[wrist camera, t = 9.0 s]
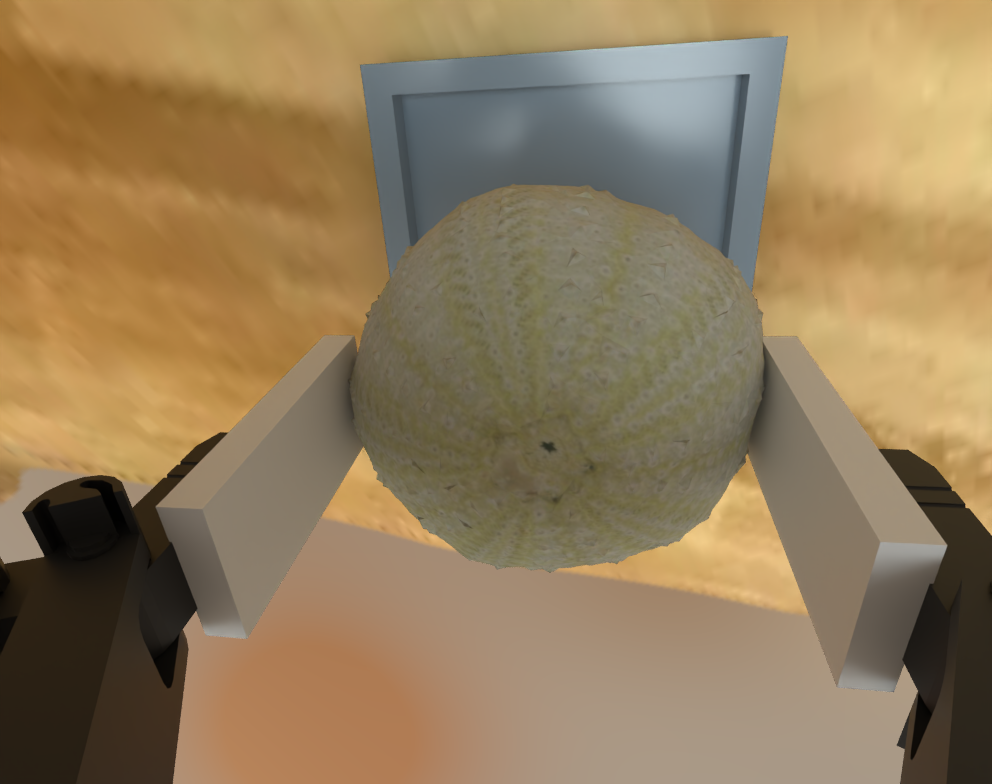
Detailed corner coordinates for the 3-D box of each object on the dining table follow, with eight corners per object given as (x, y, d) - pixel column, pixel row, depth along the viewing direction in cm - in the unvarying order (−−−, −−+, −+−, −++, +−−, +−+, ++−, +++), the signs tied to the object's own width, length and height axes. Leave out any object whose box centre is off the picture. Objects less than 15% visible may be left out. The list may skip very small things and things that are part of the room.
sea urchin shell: (253, 369, 15) (318, 336, 8) (471, 185, 18) (665, 37, 11) (486, 608, 18) (690, 745, 11) (643, 416, 20) (891, 423, 13)
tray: (419, 395, 30) (409, 414, 28) (376, 64, 23) (360, 64, 21) (725, 400, 28) (733, 420, 26) (773, 37, 21) (787, 36, 19)
